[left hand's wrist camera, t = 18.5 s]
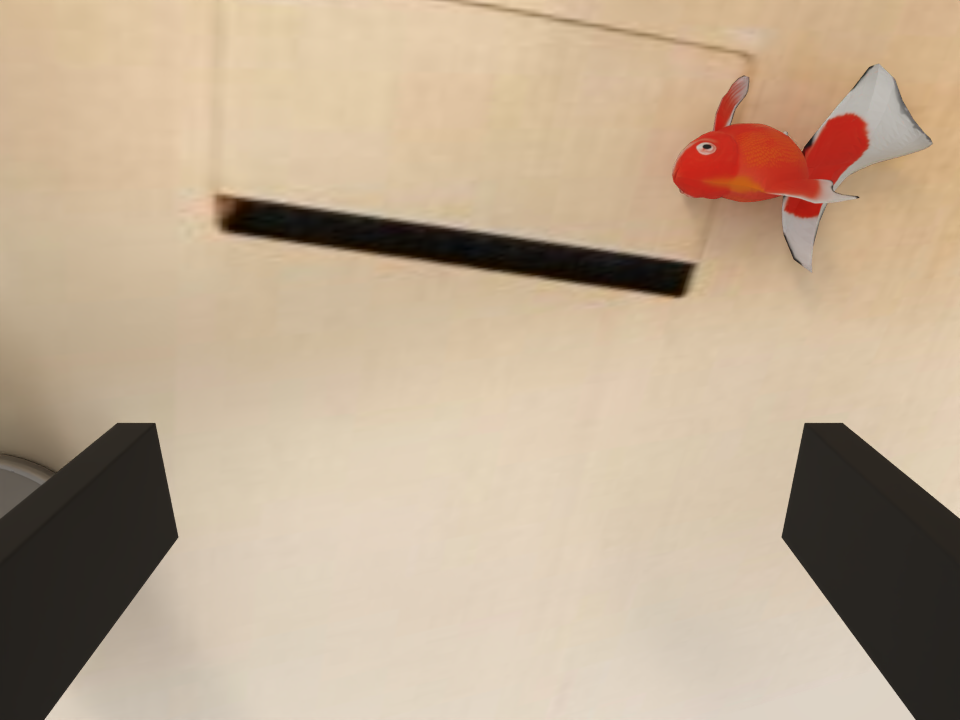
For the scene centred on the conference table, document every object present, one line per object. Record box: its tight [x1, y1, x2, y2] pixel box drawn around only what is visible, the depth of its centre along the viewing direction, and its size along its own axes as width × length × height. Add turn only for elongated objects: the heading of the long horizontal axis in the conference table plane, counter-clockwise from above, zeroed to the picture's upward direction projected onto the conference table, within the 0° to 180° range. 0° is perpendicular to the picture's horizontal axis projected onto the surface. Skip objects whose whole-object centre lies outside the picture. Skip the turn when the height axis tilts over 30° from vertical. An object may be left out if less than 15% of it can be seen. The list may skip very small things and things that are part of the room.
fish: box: [672, 64, 933, 272], centre depth 36 cm, size 11×16×10 cm
